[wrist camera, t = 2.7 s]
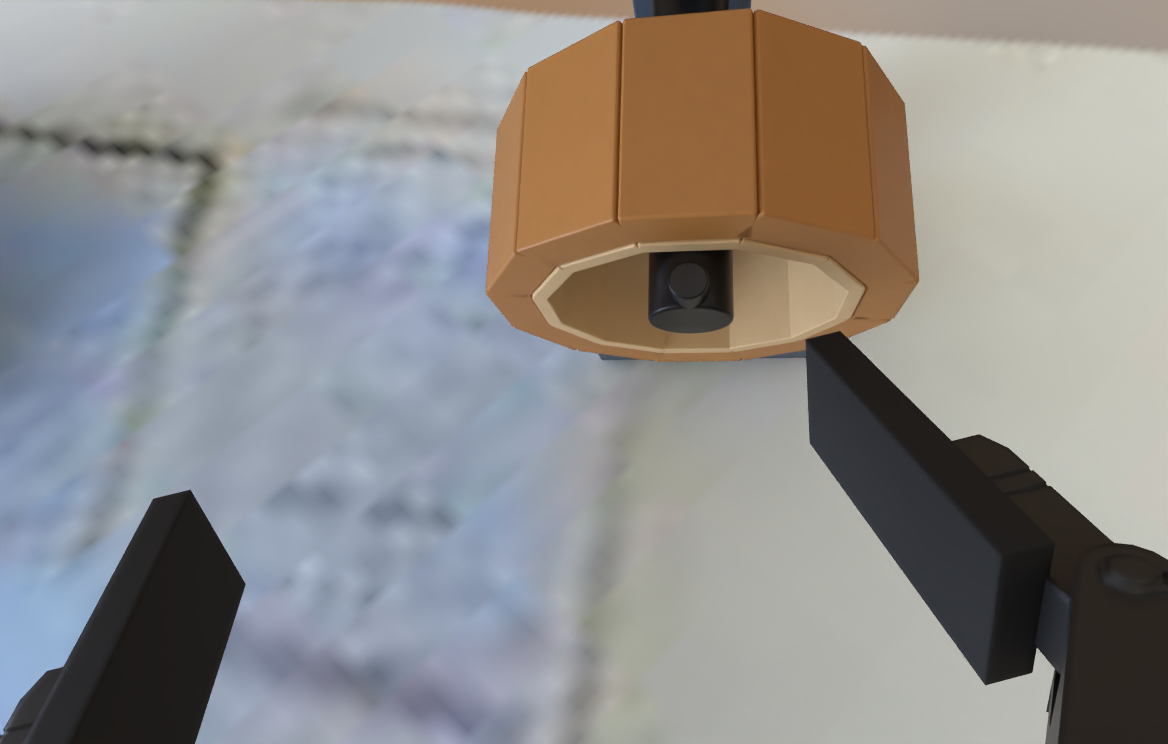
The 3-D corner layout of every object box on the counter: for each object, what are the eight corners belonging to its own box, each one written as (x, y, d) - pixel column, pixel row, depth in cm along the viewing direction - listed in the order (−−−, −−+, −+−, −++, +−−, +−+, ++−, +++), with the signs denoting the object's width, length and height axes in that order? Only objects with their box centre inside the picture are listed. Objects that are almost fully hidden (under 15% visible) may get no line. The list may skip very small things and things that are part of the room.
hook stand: (801, 169, 35) (916, -381, 15) (812, 450, 32) (981, 231, 12) (606, 179, 36) (473, -307, 16) (598, 448, 33) (419, 252, 13)
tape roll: (541, 364, 24) (430, 230, 15) (547, 233, 26) (449, 30, 16) (866, 361, 23) (974, 206, 13) (857, 220, 24) (951, -14, 14)
